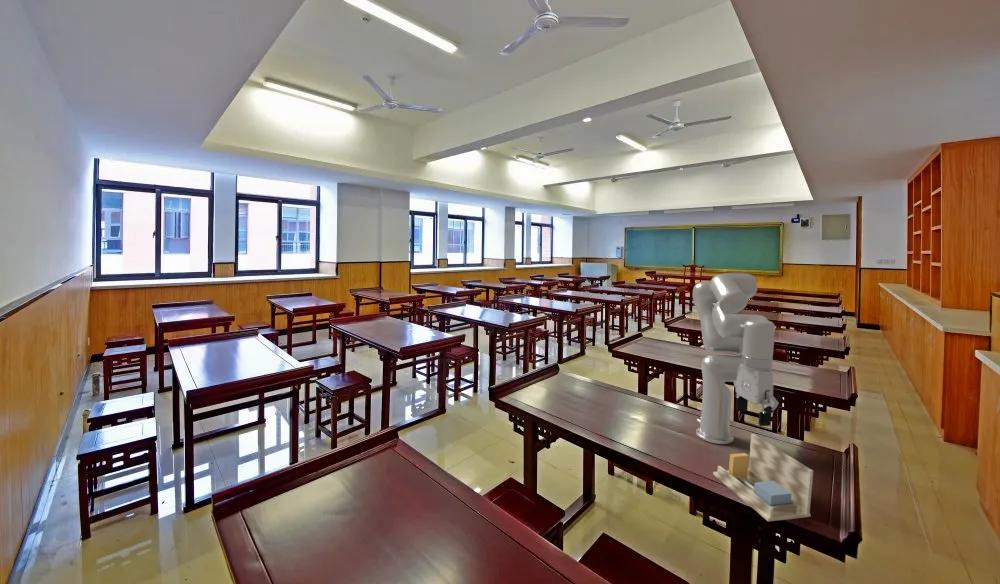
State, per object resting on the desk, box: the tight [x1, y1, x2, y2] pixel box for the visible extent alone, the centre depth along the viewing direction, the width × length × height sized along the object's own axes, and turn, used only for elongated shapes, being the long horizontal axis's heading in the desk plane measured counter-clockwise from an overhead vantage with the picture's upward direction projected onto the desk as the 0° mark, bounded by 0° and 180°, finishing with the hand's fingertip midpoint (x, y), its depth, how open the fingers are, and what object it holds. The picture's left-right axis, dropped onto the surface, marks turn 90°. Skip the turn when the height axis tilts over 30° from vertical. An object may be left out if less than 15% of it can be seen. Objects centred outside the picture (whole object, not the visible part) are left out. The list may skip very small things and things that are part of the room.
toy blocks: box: [728, 452, 792, 506], centre depth 117 cm, size 17×6×8 cm, turn 8°
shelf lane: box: [712, 433, 814, 522], centre depth 118 cm, size 22×13×13 cm, turn 8°
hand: (752, 417), depth 120 cm, fingers open, 9 cm apart
